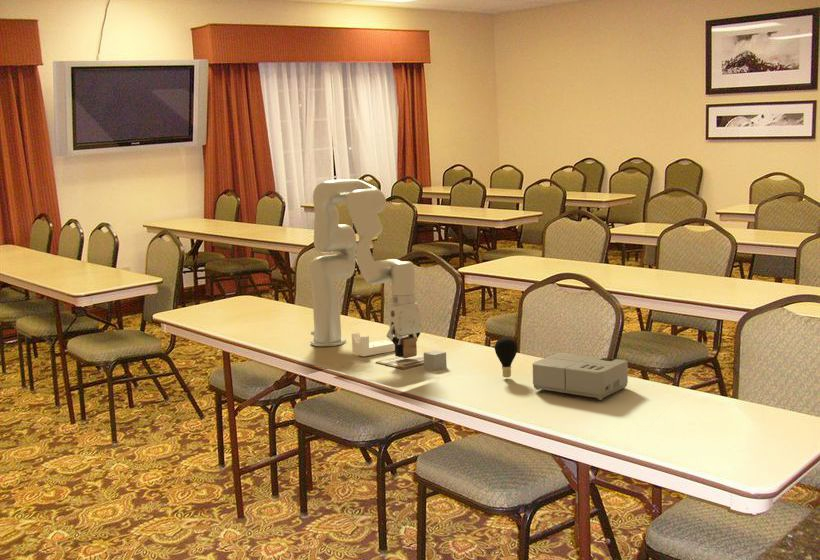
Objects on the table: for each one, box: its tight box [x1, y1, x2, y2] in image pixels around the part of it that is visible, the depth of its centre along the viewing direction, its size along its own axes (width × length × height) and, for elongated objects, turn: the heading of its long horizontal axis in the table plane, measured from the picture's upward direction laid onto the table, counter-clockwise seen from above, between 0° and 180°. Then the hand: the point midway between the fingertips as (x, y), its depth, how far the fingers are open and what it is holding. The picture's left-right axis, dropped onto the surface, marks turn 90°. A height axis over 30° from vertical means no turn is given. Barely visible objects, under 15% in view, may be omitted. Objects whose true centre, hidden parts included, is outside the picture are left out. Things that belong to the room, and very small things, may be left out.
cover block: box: [423, 349, 448, 371], centre depth 272 cm, size 5×5×5 cm
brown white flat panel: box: [375, 354, 424, 371], centre depth 282 cm, size 14×16×1 cm
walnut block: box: [394, 335, 418, 358], centre depth 282 cm, size 5×5×6 cm
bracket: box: [351, 332, 395, 357], centre depth 295 cm, size 13×7×8 cm, turn 123°
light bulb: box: [494, 336, 518, 378], centre depth 256 cm, size 7×7×12 cm
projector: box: [532, 352, 629, 400], centre depth 243 cm, size 17×22×8 cm
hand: (405, 354), depth 282 cm, fingers closed on walnut block, 4 cm apart
